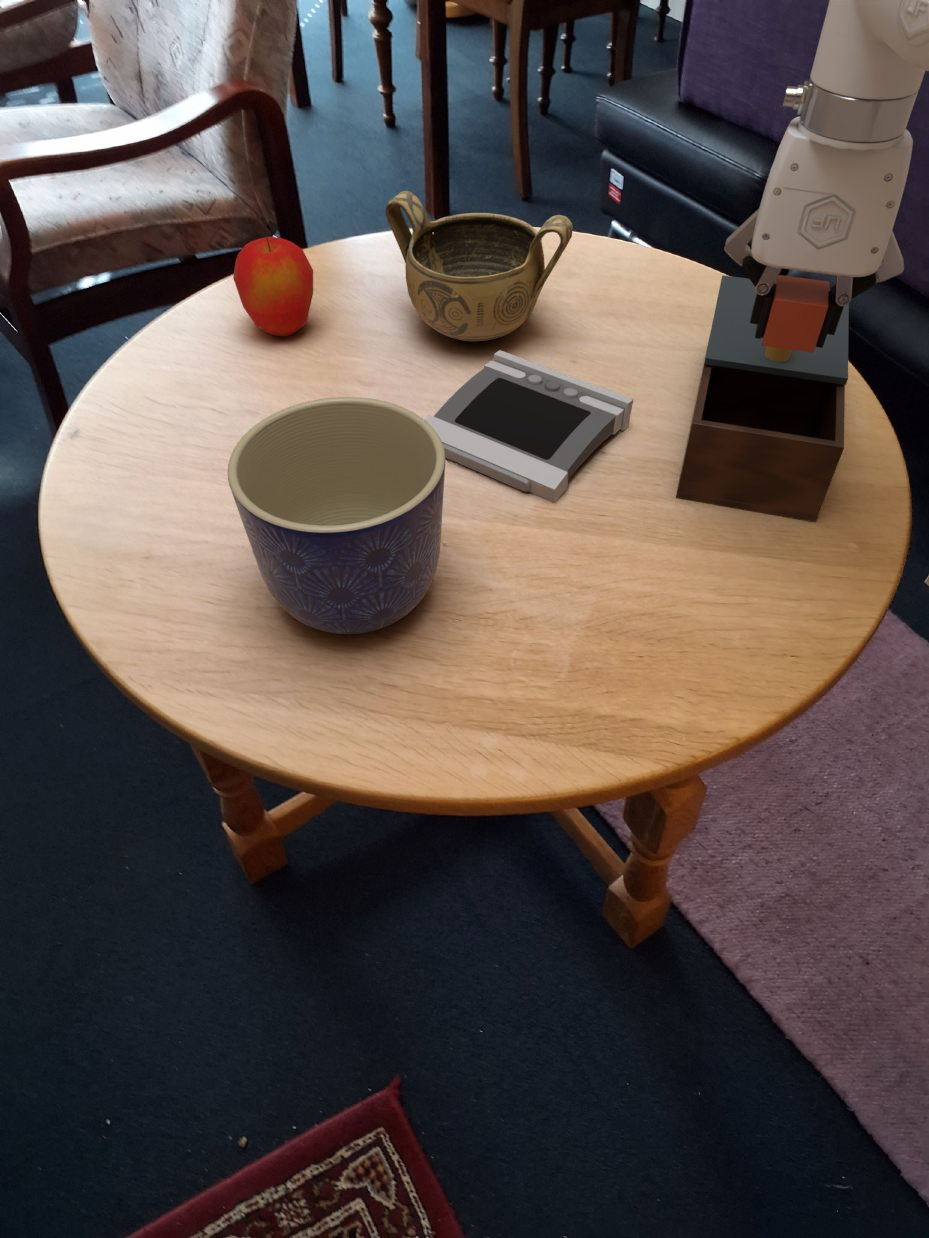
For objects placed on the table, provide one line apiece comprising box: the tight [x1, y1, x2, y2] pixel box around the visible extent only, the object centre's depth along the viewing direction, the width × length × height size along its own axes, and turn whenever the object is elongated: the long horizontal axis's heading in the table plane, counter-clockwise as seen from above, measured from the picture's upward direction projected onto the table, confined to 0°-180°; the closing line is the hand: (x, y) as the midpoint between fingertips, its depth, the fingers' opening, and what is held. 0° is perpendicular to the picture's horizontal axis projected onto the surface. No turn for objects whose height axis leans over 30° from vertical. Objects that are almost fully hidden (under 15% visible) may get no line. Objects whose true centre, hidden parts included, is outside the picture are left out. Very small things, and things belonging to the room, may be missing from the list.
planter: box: [227, 396, 446, 635], centre depth 76 cm, size 17×17×15 cm
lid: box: [703, 274, 850, 386], centre depth 92 cm, size 14×18×4 cm
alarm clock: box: [424, 349, 634, 503], centre depth 95 cm, size 17×5×16 cm
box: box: [675, 331, 846, 523], centre depth 91 cm, size 14×18×9 cm
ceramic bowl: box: [385, 190, 574, 343], centre depth 106 cm, size 22×17×15 cm
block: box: [762, 274, 830, 353], centre depth 78 cm, size 4×4×4 cm
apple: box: [232, 236, 314, 337], centre depth 107 cm, size 9×9×12 cm
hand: (789, 333), depth 79 cm, fingers closed on block, 4 cm apart
